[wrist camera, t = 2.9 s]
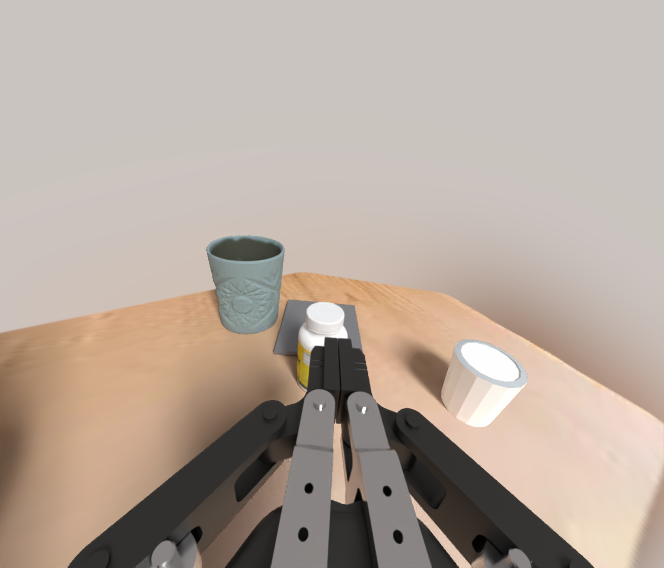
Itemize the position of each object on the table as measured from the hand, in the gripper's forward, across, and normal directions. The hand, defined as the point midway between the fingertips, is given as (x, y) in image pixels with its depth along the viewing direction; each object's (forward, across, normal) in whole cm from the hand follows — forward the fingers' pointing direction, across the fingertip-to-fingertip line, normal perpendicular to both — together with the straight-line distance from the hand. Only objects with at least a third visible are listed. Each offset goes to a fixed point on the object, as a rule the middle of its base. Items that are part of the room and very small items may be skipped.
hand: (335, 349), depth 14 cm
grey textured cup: (+22, +12, +14) cm, 28 cm away
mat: (+20, 0, +14) cm, 25 cm away
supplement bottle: (+10, 0, +14) cm, 18 cm away
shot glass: (+8, -17, +14) cm, 24 cm away
